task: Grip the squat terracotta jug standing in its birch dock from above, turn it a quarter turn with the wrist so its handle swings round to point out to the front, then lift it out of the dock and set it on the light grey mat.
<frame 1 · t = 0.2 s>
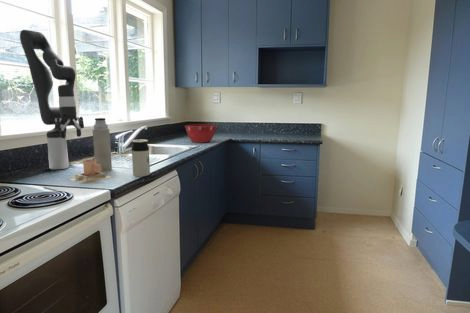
hand: (71, 137, 167), 18 cm above the worktop, tool pointing down, fingers open, 8 cm apart
thermos bottle: (104, 172, 169), on the worktop
jug: (91, 178, 150), point 1 cm above the worktop, touching dock
mixing bowl: (201, 142, 288), on the worktop
mat: (65, 187, 139), on the worktop
dock: (91, 180, 150), on the worktop
travel mug: (141, 177, 158), on the worktop
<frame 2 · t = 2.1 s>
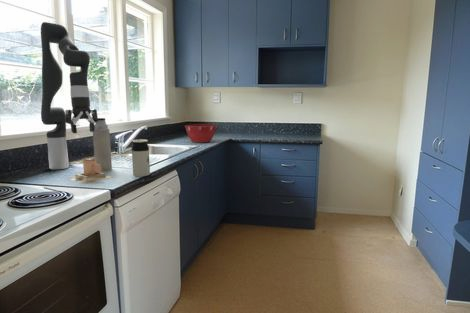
hand: (83, 132, 147), 23 cm above the worktop, tool pointing down, fingers open, 8 cm apart
nothing on the worktop moved.
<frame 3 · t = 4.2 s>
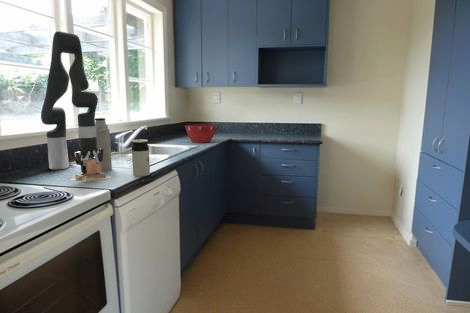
hand: (90, 172, 150), 4 cm above the worktop, tool pointing down, fingers closed on jug, 5 cm apart
jug: (91, 178, 150), point 1 cm above the worktop, touching dock, gripper
everything else where it was.
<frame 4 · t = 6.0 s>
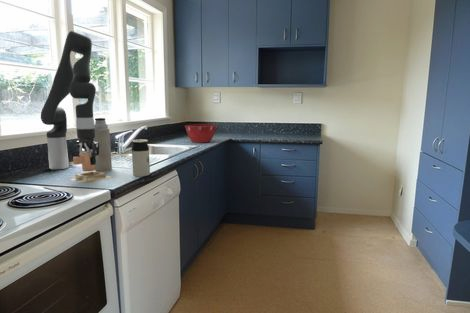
hand: (88, 163, 148), 8 cm above the worktop, tool pointing down, fingers closed on jug, 5 cm apart
jug: (89, 170, 149), point 5 cm above the worktop, touching gripper
everything else where it was.
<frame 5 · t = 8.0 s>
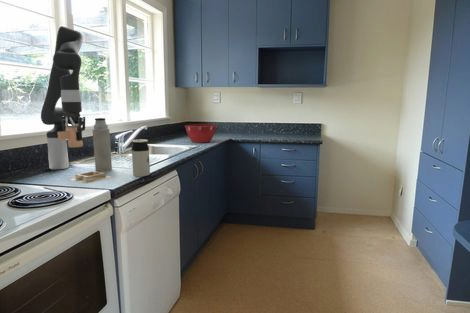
hand: (74, 140, 140), 20 cm above the worktop, tool pointing down, fingers closed on jug, 5 cm apart
jug: (75, 146, 141), point 17 cm above the worktop, touching gripper
everything else where it was.
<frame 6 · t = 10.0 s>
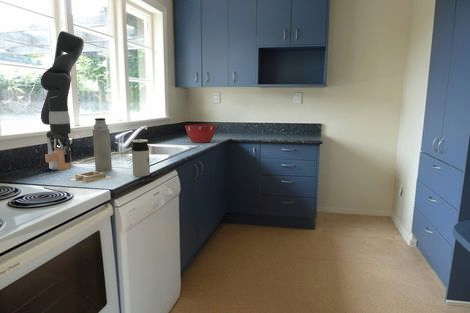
hand: (63, 161, 137), 11 cm above the worktop, tool pointing down, fingers closed on jug, 5 cm apart
jug: (64, 168, 138), point 8 cm above the worktop, touching gripper
everything else where it was.
when the fingers open (4 cm above the worktop, at t = 11.8 s): jug stays where it is, resting on mat.
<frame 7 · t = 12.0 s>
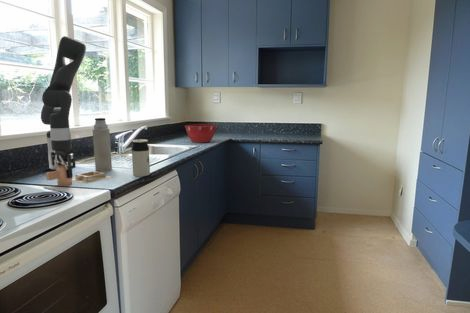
hand: (64, 176, 138), 5 cm above the worktop, tool pointing down, fingers open, 7 cm apart
jug: (65, 185, 139), point 1 cm above the worktop, touching mat
everything else where it was.
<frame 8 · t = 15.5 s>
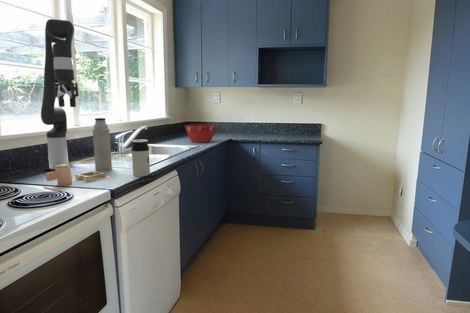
hand: (67, 106, 141), 34 cm above the worktop, tool pointing down, fingers open, 8 cm apart
nothing on the worktop moved.
at the end: jug inside the target area (0.3 cm from its centre), point 0.7 cm above the worktop; jug tilted 2°; the gripper is holding nothing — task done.
